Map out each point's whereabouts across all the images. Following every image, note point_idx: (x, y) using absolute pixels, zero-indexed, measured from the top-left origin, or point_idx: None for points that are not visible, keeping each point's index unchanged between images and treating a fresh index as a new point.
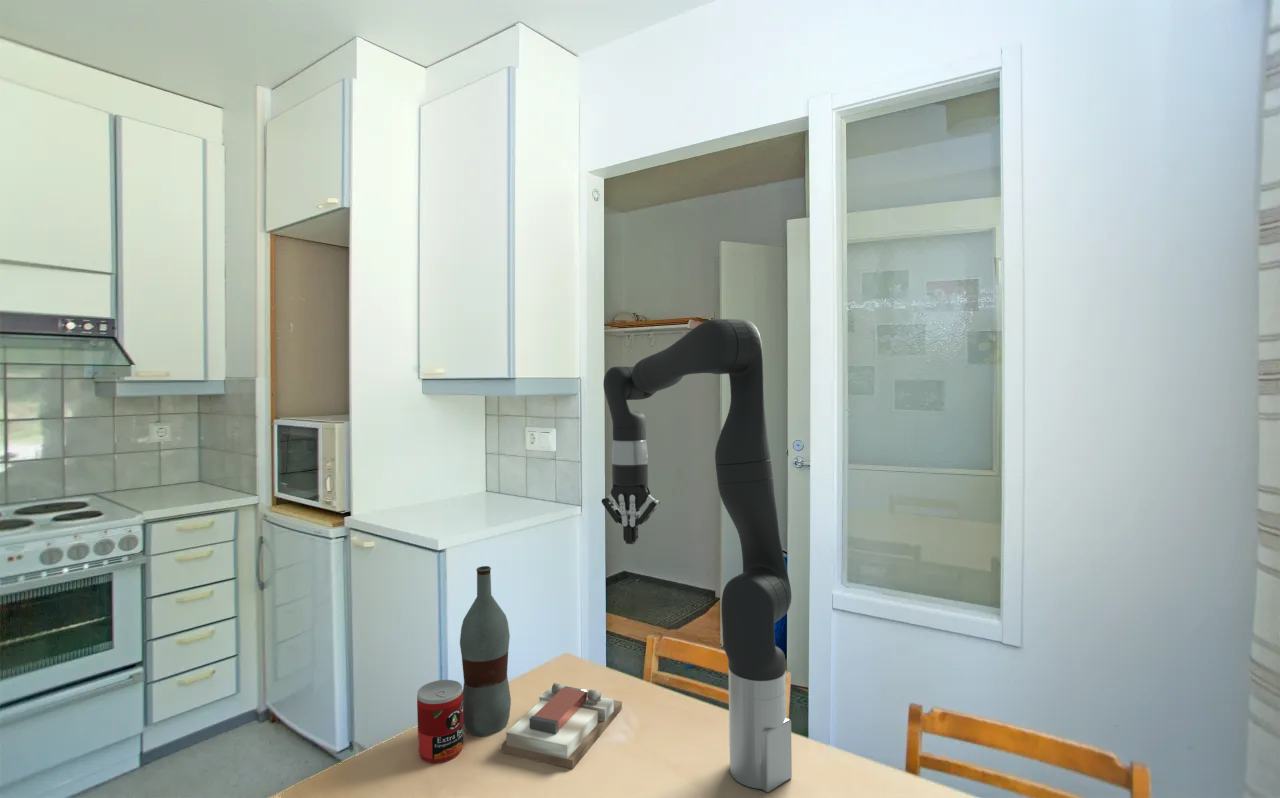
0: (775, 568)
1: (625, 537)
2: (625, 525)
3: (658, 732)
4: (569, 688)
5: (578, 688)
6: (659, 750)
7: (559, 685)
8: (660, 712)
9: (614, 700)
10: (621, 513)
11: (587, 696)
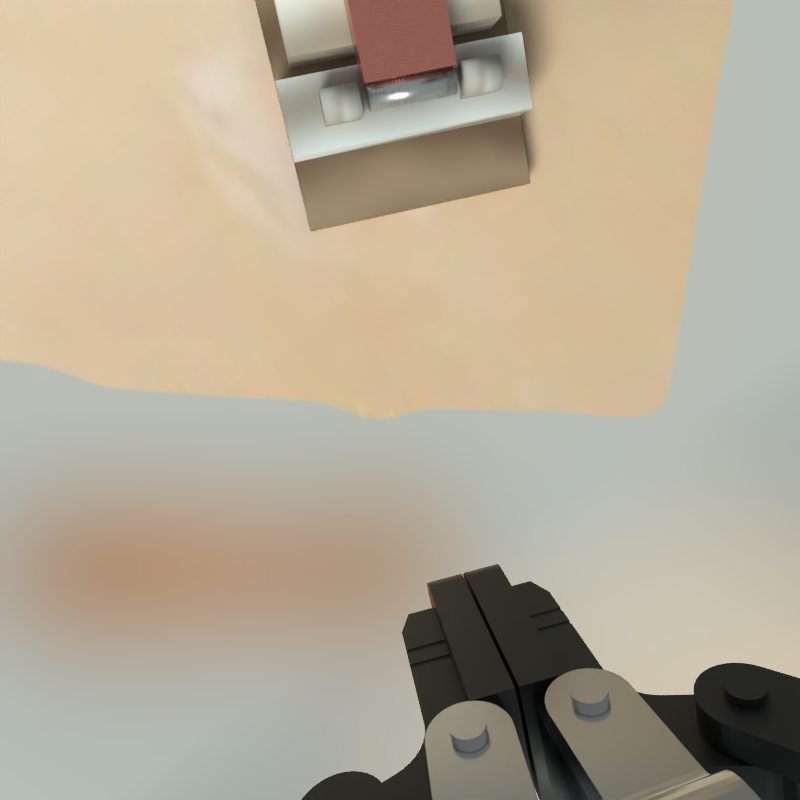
0: None
1: (528, 604)
2: (568, 681)
3: (129, 173)
4: (431, 68)
5: (406, 91)
6: (62, 83)
7: (476, 67)
8: (197, 280)
9: (335, 224)
10: (725, 792)
11: (367, 101)
